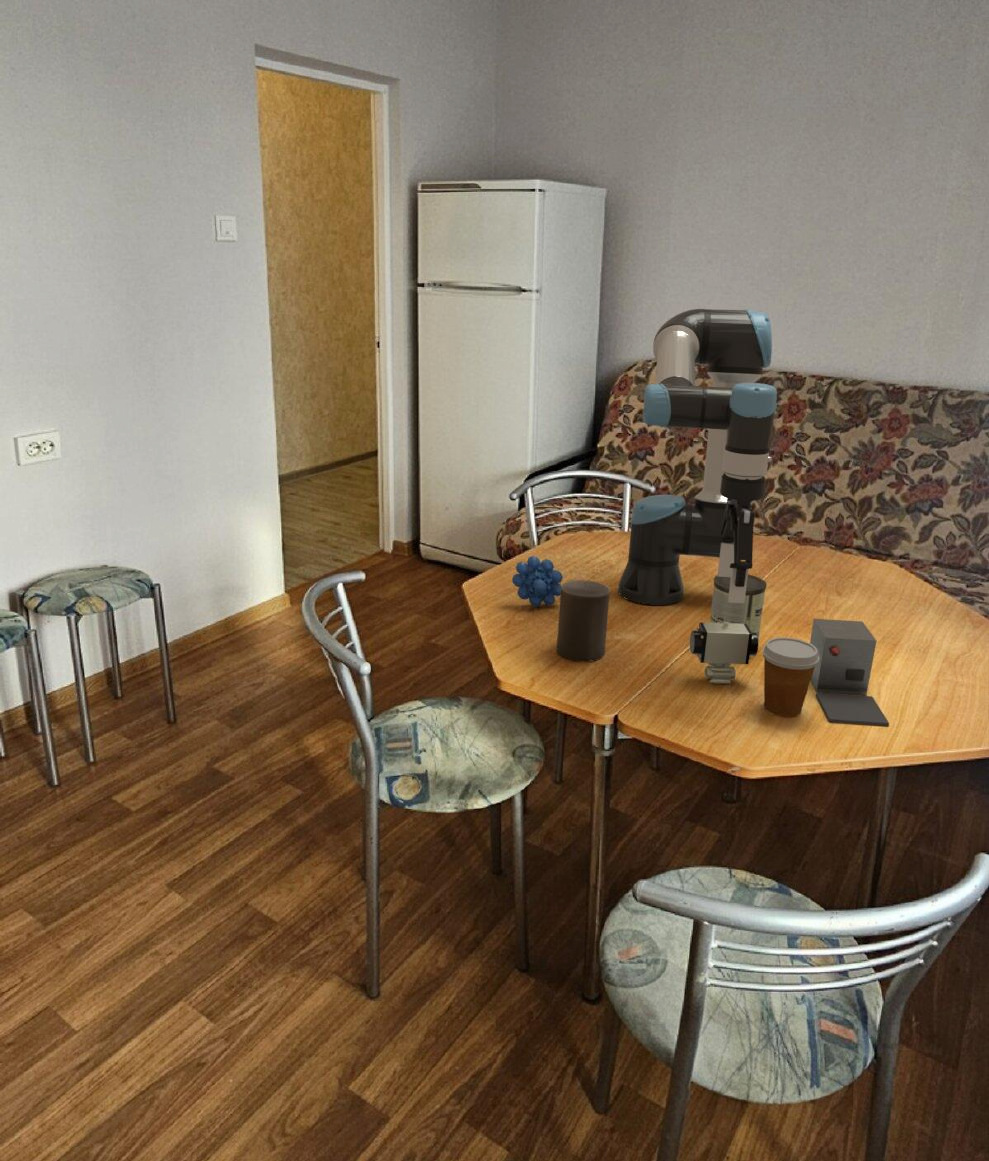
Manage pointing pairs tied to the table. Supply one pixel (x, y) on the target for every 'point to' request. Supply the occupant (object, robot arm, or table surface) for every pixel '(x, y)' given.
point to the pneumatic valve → (723, 648)
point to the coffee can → (738, 611)
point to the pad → (851, 709)
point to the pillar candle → (583, 620)
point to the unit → (842, 656)
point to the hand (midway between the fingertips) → (730, 589)
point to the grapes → (537, 581)
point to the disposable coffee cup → (787, 674)
